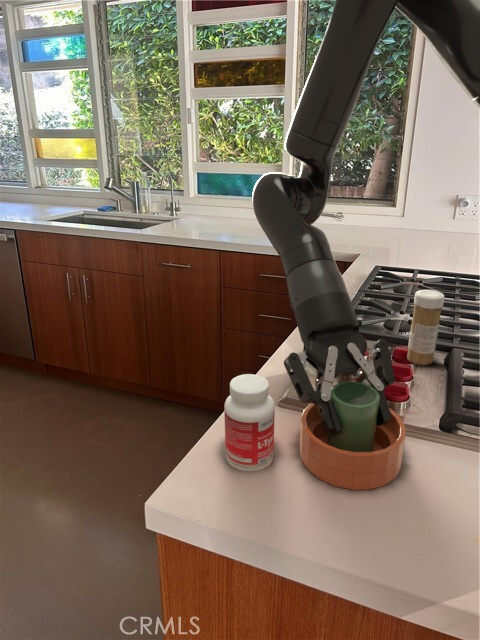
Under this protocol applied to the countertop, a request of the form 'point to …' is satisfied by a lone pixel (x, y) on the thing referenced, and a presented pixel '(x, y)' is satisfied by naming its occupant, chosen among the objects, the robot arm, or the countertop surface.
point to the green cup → (355, 416)
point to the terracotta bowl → (352, 454)
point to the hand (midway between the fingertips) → (360, 428)
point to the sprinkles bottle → (424, 326)
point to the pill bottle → (249, 423)
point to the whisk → (333, 216)
